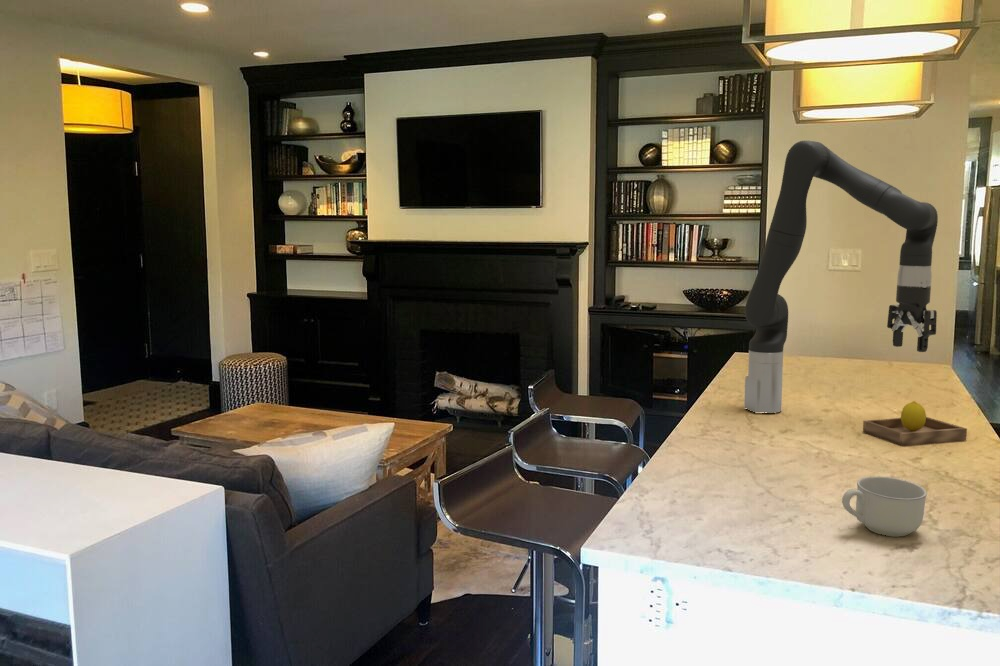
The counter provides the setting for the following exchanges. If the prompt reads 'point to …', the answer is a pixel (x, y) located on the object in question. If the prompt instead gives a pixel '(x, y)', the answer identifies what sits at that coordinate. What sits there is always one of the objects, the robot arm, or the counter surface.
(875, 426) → the tray
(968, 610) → the counter surface
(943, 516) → the counter surface
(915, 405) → the lemon
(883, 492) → the teacup
